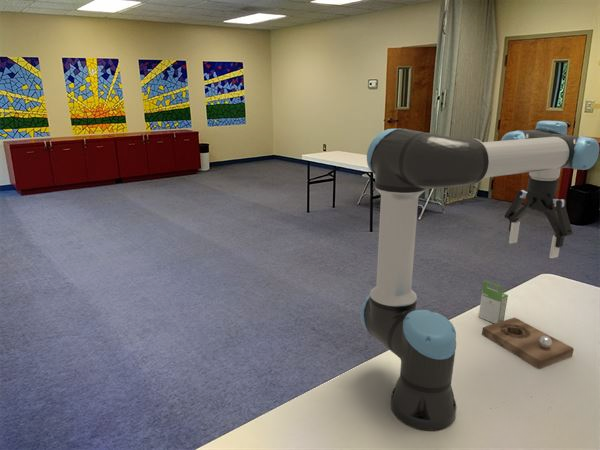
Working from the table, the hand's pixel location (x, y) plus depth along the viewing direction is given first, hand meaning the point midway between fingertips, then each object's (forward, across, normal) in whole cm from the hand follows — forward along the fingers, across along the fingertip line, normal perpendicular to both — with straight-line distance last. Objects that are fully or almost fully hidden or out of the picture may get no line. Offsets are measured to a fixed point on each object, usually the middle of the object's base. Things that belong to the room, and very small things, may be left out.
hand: (532, 249), depth 135 cm
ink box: (+28, +11, 0) cm, 30 cm away
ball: (+24, -11, +3) cm, 26 cm away
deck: (+28, -5, +3) cm, 29 cm away
